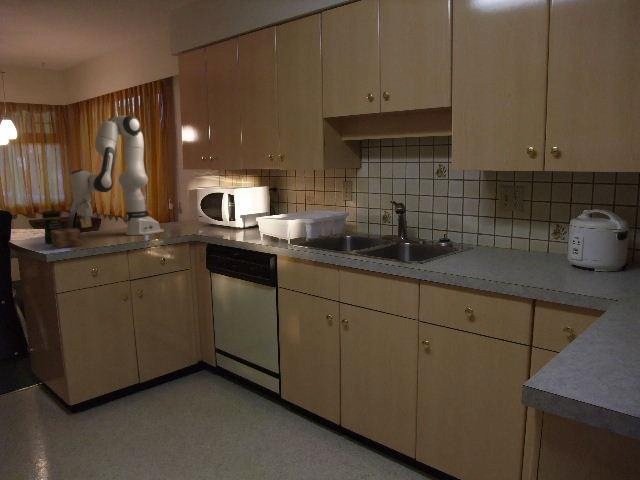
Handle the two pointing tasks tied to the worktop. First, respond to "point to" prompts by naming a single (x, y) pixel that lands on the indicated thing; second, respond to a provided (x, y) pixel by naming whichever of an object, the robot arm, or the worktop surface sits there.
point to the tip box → (66, 238)
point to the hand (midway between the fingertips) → (86, 223)
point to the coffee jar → (51, 223)
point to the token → (85, 223)
